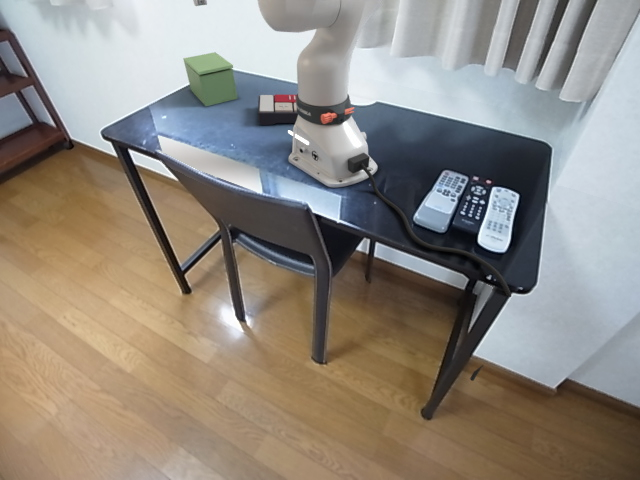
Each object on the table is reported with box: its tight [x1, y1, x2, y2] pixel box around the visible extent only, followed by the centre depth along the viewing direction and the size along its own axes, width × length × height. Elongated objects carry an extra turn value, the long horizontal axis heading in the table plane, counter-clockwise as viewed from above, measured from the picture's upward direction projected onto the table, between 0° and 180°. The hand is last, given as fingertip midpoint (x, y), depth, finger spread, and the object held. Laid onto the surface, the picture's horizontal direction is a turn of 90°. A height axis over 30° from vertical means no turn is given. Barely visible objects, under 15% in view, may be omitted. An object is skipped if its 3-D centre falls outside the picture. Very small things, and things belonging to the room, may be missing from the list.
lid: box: [183, 51, 234, 75], centre depth 109 cm, size 14×10×1 cm
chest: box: [183, 61, 238, 107], centre depth 113 cm, size 14×10×9 cm
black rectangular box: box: [257, 94, 298, 126], centre depth 105 cm, size 11×4×15 cm
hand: (200, 5), depth 96 cm, fingers closed
